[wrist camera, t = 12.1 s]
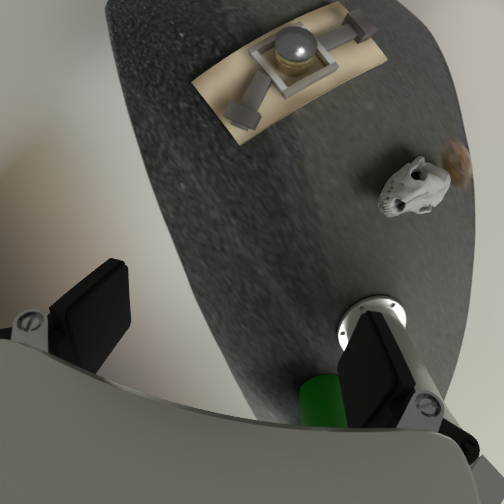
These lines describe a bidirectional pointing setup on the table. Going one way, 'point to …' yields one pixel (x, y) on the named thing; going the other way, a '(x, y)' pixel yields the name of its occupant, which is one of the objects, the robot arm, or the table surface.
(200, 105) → the table surface
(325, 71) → the stand
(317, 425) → the green cylindrical cup
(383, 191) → the skull
